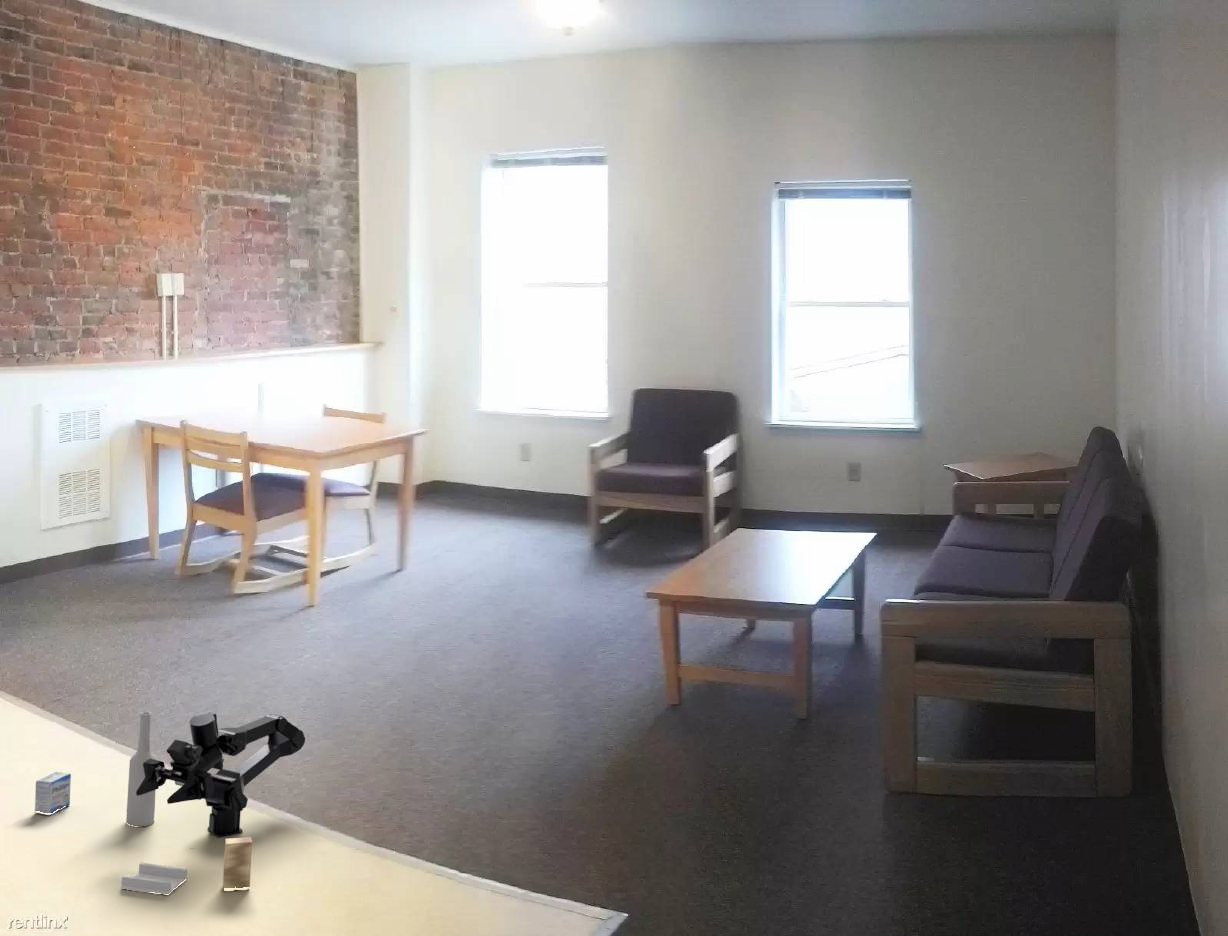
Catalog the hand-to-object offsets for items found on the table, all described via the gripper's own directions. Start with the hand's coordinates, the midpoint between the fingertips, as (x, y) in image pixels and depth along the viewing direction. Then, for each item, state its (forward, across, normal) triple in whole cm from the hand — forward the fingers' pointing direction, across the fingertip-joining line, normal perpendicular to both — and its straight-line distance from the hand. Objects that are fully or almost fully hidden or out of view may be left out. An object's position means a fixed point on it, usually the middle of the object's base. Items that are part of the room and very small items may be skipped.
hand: (152, 797), depth 271 cm
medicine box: (-8, -44, +19) cm, 49 cm away
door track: (+11, +8, +14) cm, 19 cm away
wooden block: (+3, +24, +16) cm, 29 cm away
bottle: (-14, -21, +21) cm, 32 cm away
